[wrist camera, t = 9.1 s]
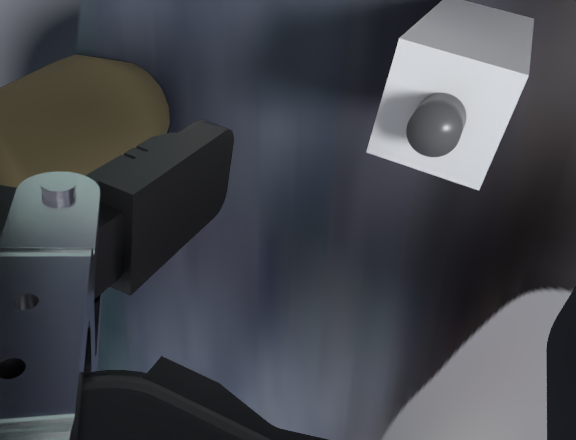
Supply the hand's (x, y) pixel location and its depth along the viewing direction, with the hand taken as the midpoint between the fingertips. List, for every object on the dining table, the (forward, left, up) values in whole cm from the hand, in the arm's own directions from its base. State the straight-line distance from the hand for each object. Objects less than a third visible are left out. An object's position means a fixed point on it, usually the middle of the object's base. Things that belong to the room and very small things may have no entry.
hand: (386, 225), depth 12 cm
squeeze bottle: (+19, +9, -18) cm, 28 cm away
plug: (0, 0, -18) cm, 18 cm away
